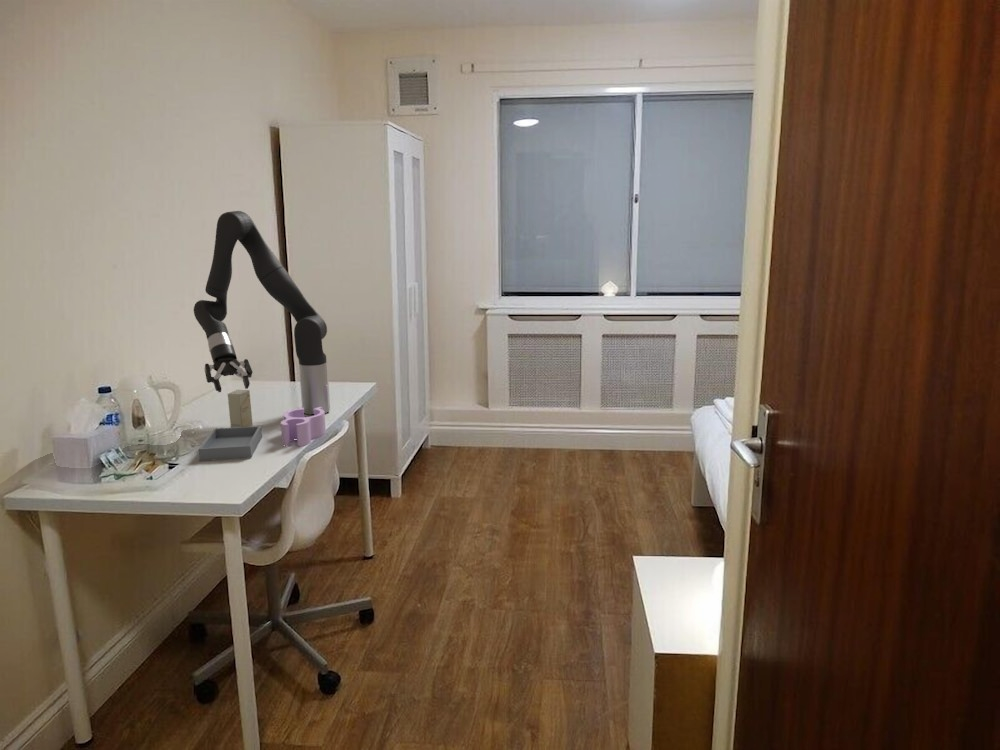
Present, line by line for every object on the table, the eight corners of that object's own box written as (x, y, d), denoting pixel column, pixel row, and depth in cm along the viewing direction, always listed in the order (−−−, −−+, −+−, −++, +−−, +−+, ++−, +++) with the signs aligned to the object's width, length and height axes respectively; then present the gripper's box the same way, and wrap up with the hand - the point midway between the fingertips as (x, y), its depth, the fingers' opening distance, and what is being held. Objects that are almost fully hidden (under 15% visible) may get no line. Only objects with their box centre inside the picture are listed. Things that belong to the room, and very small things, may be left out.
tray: (262, 436, 224) (261, 426, 223) (251, 457, 205) (250, 446, 204) (215, 439, 222) (213, 428, 221) (199, 461, 203) (198, 449, 202)
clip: (313, 447, 214) (312, 424, 213) (272, 447, 215) (270, 424, 213) (331, 427, 234) (329, 406, 232) (293, 427, 234) (291, 406, 233)
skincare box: (242, 431, 230) (239, 394, 227) (230, 430, 231) (226, 393, 228) (253, 425, 236) (250, 389, 233) (241, 425, 237) (237, 389, 234)
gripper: (200, 344, 236) (212, 385, 229) (245, 340, 243) (257, 379, 237) (198, 358, 241) (209, 398, 234) (242, 353, 249) (254, 392, 242)
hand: (233, 389), depth 236 cm, fingers open, 8 cm apart
